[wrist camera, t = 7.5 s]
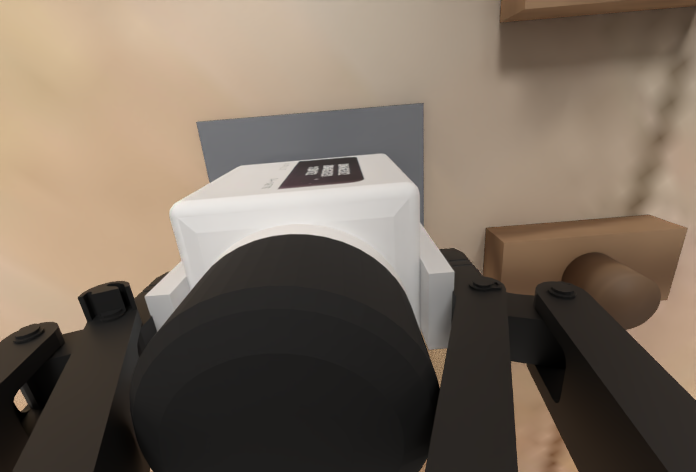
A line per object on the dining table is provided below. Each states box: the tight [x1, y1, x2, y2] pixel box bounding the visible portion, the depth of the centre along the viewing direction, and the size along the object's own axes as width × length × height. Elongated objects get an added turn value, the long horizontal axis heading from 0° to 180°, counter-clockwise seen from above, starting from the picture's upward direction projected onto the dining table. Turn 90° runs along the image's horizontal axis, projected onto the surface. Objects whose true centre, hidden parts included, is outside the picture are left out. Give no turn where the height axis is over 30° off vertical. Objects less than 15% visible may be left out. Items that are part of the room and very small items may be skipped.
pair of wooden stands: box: [483, 0, 696, 330], centre depth 15 cm, size 23×10×8 cm, turn 4°
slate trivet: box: [196, 103, 424, 227], centre depth 20 cm, size 12×12×1 cm
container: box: [129, 153, 440, 472], centre depth 13 cm, size 8×8×13 cm
